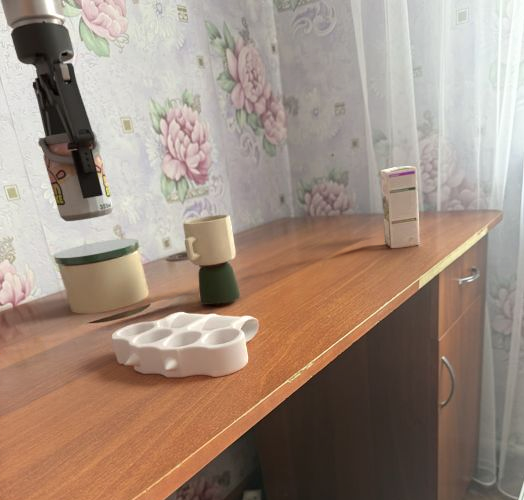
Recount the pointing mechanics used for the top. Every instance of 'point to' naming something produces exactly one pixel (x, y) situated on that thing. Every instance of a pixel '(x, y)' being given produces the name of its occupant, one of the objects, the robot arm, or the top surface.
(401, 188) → the syrup box
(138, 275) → the jar
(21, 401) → the top surface
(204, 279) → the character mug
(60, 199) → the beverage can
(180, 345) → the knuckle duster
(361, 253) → the top surface
